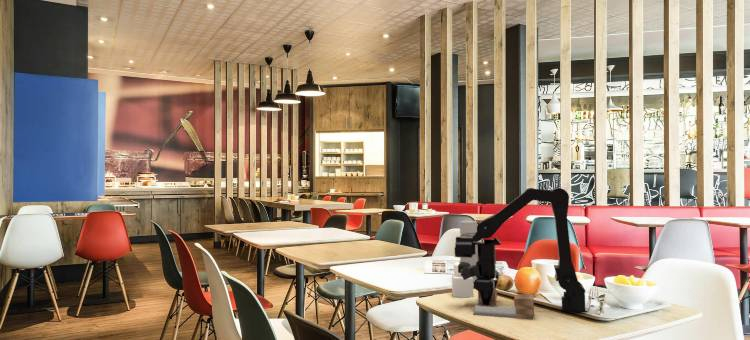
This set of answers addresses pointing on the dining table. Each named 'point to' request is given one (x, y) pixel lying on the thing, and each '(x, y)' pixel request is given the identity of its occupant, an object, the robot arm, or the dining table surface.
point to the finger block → (492, 301)
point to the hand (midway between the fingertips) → (487, 305)
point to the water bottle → (468, 231)
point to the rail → (495, 311)
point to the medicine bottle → (461, 282)
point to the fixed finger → (524, 306)
